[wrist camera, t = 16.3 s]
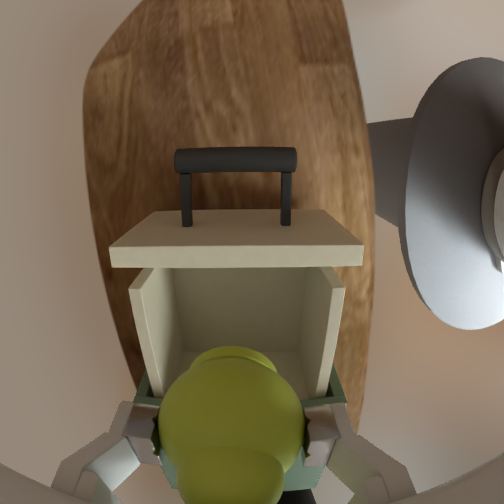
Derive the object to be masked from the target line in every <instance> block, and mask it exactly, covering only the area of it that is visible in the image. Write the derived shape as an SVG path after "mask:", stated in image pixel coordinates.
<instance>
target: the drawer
mask: <svg viewBox="0 0 504 504" xmlns="http://www.w3.org/2000/svg"><path fill="white" fill-rule="evenodd" d="M174 166H175V170H176V173H178V174H180V197H181V210H180V211H154V212H153V213H151V214H150V215H149V216H147V217H146V218H145V219H143V220H142V221H141V222H140V223H138V224H137V225H136V226H134V227H133V228H132V229H130V230H129V231H128V232H127V233H125V234H124V235H123V236H122V237H120V238H119V239H118V240H117V241H115V242H114V243H113V244H112V245H110V246H109V254H110V260H111V266H112V267H120V268H143V270H142V271H141V272H140V273H139V275H138V276H137V277H136V279H135V280H134V281H133V283H132V284H131V285H130V287H129V288H128V291H129V296H130V301H131V306H132V311H133V316H134V321H135V325H136V330H137V334H138V338H139V342H140V346H141V351H142V354H143V358H144V362H145V366H146V370H147V373H148V377H149V380H150V384H151V387H152V391H153V394H154V397H155V398H164V396H165V394H166V392H167V391H168V389H169V388H170V386H171V385H172V384H173V383H174V382H175V381H176V379H177V378H179V377H180V376H181V375H182V374H183V373H185V372H186V371H187V370H189V369H190V366H191V364H192V363H193V361H194V360H195V359H196V358H197V357H198V356H200V355H201V354H202V353H204V352H206V351H208V350H210V349H213V348H217V347H222V346H240V347H246V348H250V349H252V350H255V351H257V352H259V353H261V354H263V355H264V356H266V357H267V358H268V359H269V360H270V361H271V362H272V363H273V365H274V366H275V368H276V371H277V373H278V374H279V375H280V376H281V377H282V378H284V379H285V380H286V381H287V382H288V384H289V385H290V386H291V387H292V388H293V390H294V391H295V393H296V395H297V396H298V398H299V400H303V399H315V398H325V395H326V391H327V387H328V382H329V378H330V373H331V368H332V363H333V358H334V353H335V348H336V343H337V337H338V331H339V326H340V320H341V314H342V307H343V301H344V294H345V286H344V284H343V283H342V281H341V280H340V279H339V277H338V276H337V274H336V273H335V271H334V270H333V268H332V267H331V266H361V265H362V259H363V251H364V244H363V243H362V242H360V241H359V240H358V239H357V238H356V237H355V236H354V235H352V234H351V233H350V232H349V231H348V230H347V229H346V228H344V227H343V226H342V225H341V224H340V223H338V222H337V221H336V220H335V219H334V218H333V217H331V216H330V215H329V214H328V213H327V212H325V211H324V210H307V209H291V201H292V173H291V172H295V171H296V167H297V152H296V149H295V148H294V147H208V148H187V149H177V150H176V152H175V156H174ZM209 172H281V206H280V209H224V210H192V192H191V173H209Z"/></svg>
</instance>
